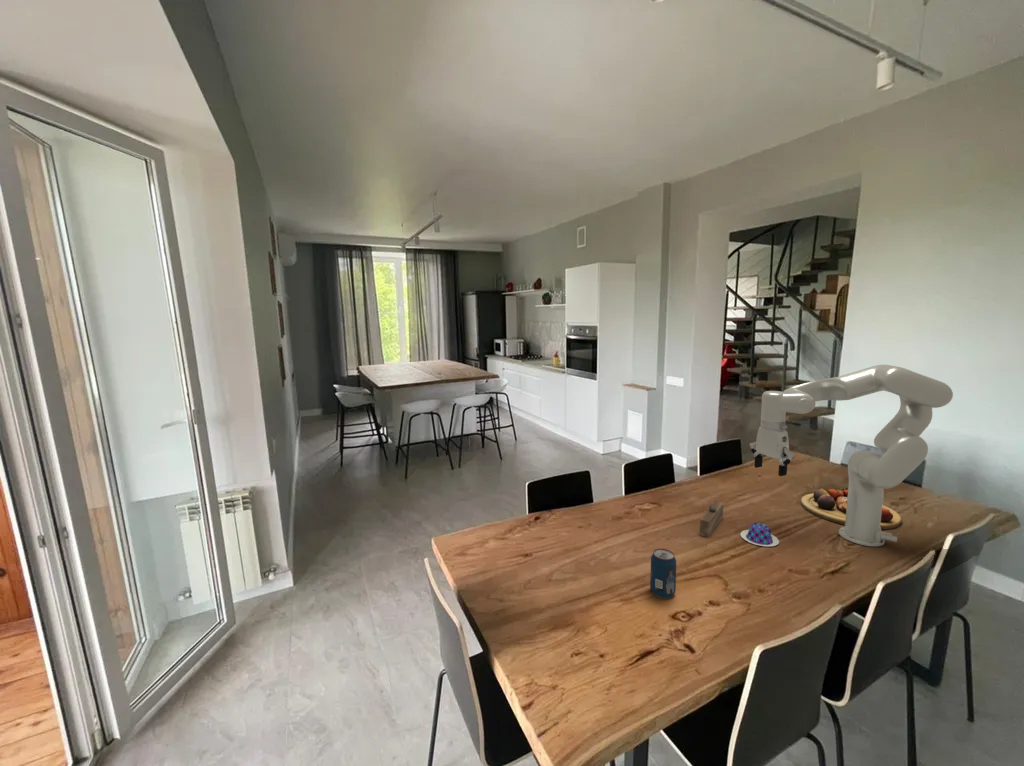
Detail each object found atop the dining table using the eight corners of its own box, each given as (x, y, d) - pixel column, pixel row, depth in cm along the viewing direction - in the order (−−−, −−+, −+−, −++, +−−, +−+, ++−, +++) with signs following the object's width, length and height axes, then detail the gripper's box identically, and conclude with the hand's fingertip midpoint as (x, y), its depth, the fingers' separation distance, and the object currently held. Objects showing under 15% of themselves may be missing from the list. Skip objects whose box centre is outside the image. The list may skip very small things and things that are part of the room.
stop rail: (722, 517, 169) (723, 498, 168) (708, 537, 154) (709, 516, 153) (714, 515, 171) (715, 496, 170) (699, 535, 156) (700, 514, 155)
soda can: (655, 582, 128) (656, 545, 127) (678, 590, 124) (680, 552, 122) (646, 593, 123) (647, 555, 121) (670, 603, 119) (671, 563, 117)
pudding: (759, 550, 145) (760, 536, 144) (732, 534, 156) (733, 520, 156) (787, 545, 148) (788, 531, 147) (759, 529, 160) (759, 516, 159)
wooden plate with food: (925, 531, 156) (928, 509, 155) (836, 531, 157) (838, 509, 156) (857, 497, 187) (859, 479, 186) (783, 497, 188) (785, 479, 187)
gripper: (803, 429, 146) (800, 477, 148) (759, 419, 162) (756, 462, 164) (787, 432, 143) (784, 480, 146) (744, 421, 160) (742, 465, 162)
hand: (770, 471), depth 155 cm, fingers open, 9 cm apart
